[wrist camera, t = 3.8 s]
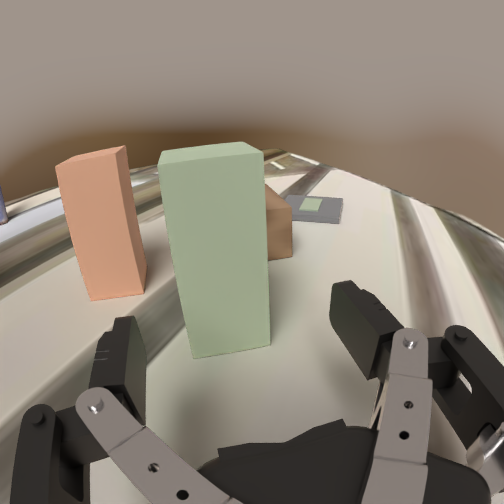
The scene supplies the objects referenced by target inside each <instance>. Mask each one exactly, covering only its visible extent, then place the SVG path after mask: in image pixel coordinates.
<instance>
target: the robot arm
mask: <svg viewBox="0 0 504 504" xmlns="http://www.w3.org/2000/svg"><path fill="white" fill-rule="evenodd" d="M329 316H330V322H331V325H332V327H333V329H334V330H335V332H336V333H337V335H338V336H339V338H340V339H341V341H342V342H343V344H344V345H345V347H346V348H347V350H348V351H349V353H350V354H351V356H352V357H353V359H354V360H355V362H356V363H357V365H358V367H359V368H360V370H361V371H362V373H363V374H364V376H365V377H366V379H367V380H370V379H373V378H376V377H378V378H379V380H380V382H379V385H378V389H377V394H376V399H375V403H374V408H373V412H372V416H371V420H370V424H369V427H368V428H367V427H360V426H346V425H345V423H344V421H343V419H340V420H337V421H334V422H330V423H327V424H324V425H321V426H317V427H314V428H312V429H310V430H308V431H306V432H304V433H303V434H301V435H299V436H297V437H295V438H293V439H291V440H289V441H287V442H284V443H247V444H242V445H236V446H231V447H225V448H219V449H218V454H219V457H218V458H215V459H213V460H211V461H209V462H207V463H205V464H204V465H202V466H201V467H200V468H198V469H197V470H195V469H193V468H192V467H191V466H190V465H189V464H188V463H186V462H185V461H184V460H183V459H182V458H181V457H179V456H178V455H177V454H176V453H175V452H174V451H173V450H172V449H170V448H169V447H168V446H167V445H166V444H165V443H164V442H163V441H162V440H161V439H160V438H159V437H158V436H157V435H155V434H154V433H153V432H152V431H151V430H150V429H149V428H148V427H146V426H144V425H146V415H145V411H146V362H147V358H146V350H145V346H144V343H143V340H142V337H141V334H140V331H139V328H138V325H137V322H136V319H135V317H134V316H127V317H119V318H115V321H114V326H113V331H109V332H105V333H104V334H103V335H102V337H101V338H100V339H99V341H98V345H97V349H96V354H95V358H94V359H95V361H94V363H93V368H92V373H91V378H90V383H89V389H88V390H86V391H85V392H83V393H82V394H81V395H80V396H79V397H78V399H77V401H76V405H75V406H73V407H70V408H67V409H64V410H61V411H57V412H54V410H53V409H52V408H51V407H50V406H48V405H45V404H38V405H35V406H33V407H31V408H30V409H28V410H27V411H26V413H25V414H24V416H23V419H22V423H21V428H20V433H19V438H18V443H17V449H16V455H15V462H14V469H13V477H12V485H11V496H10V504H90V463H92V462H95V461H98V460H101V459H104V458H107V457H111V459H112V460H113V461H114V462H115V464H116V465H117V466H118V467H119V468H120V469H121V471H122V472H123V473H124V474H125V475H126V476H127V477H128V479H129V480H130V481H131V482H132V483H133V484H134V485H135V486H136V487H137V488H138V490H139V491H140V492H141V493H142V494H143V495H144V496H145V497H146V498H147V499H148V500H149V501H150V502H151V503H152V504H491V497H492V496H494V495H495V494H497V493H501V492H504V366H503V365H502V364H501V363H500V362H499V361H498V360H497V358H496V357H495V356H494V355H493V354H492V353H491V352H490V351H489V350H488V348H487V347H486V346H485V345H484V344H483V343H482V342H481V341H480V340H479V339H478V338H477V337H476V335H475V334H474V333H473V332H472V331H471V330H469V329H468V328H466V327H464V326H460V325H453V326H450V327H448V328H447V329H446V331H445V333H444V336H443V337H434V338H427V337H426V336H425V335H424V334H423V333H422V332H420V331H418V330H416V329H412V328H404V327H403V326H402V325H401V324H400V322H399V321H398V320H397V319H396V318H395V317H394V316H393V315H392V314H391V313H390V311H389V310H388V309H386V307H385V306H384V305H383V304H382V303H381V302H380V301H379V300H378V299H377V297H376V296H375V295H374V294H372V293H370V292H368V291H366V290H364V289H362V290H360V289H359V288H358V287H357V285H356V284H355V283H354V282H353V281H351V280H348V281H343V282H338V283H334V284H333V286H332V292H331V302H330V312H329ZM461 373H462V374H463V376H464V377H465V378H466V379H467V381H468V382H469V383H470V385H471V388H472V394H471V392H470V391H469V390H468V388H467V387H466V386H465V384H464V383H463V382H462V381H461V379H460V378H459V376H460V374H461ZM432 397H433V398H434V400H435V401H436V403H437V404H438V406H439V407H440V409H441V410H442V412H443V414H444V415H445V417H446V418H447V420H448V421H449V423H450V424H451V426H452V427H453V429H454V430H455V432H456V434H457V435H458V437H459V438H460V440H461V442H462V443H463V445H464V446H465V448H466V450H467V453H466V460H467V464H466V466H464V465H462V464H459V463H456V462H453V461H450V460H448V459H445V458H442V457H440V456H437V455H435V454H432V453H429V452H427V448H428V440H429V430H430V419H431V405H432ZM143 426H144V427H143Z"/></svg>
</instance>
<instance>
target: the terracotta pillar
mask: <svg viewBox="0 0 504 504" xmlns="http://www.w3.org/2000/svg"><path fill="white" fill-rule="evenodd" d="M55 168H56V174H57V179H58V184H59V189H60V193H61V198H62V203H63V207H64V211H65V215H66V220H67V224H68V227H69V231H70V235H71V239H72V242H73V246H74V249H75V253H76V256H77V260H78V263H79V266H80V270H81V273H82V276H83V279H84V282H85V285H86V288H87V291H88V294H89V297H90V300H91V301H95V300H103V299H110V298H117V297H125V296H132V295H139V294H144V287H145V280H146V272H147V264H146V259H145V254H144V250H143V245H142V240H141V235H140V230H139V225H138V220H137V215H136V209H135V204H134V198H133V192H132V186H131V180H130V173H129V167H128V160H127V152H126V146H120V147H115V148H110V149H105V150H100V151H95V152H91V153H86V154H82V155H77V156H74V157H72V158H70V159H68V160H66V161H64V162H63V163H60V164H59V165H57V166H55Z"/></svg>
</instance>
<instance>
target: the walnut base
mask: <svg viewBox="0 0 504 504" xmlns="http://www.w3.org/2000/svg"><path fill="white" fill-rule="evenodd" d="M265 203H266V226H267V252H268V260H274V259H281V258H287V257H292V207H291V206H290V205H289V204H288V203H287V202H286V201H284V200H283V199H282V198H281V197H280V196H279V195H278V194H277V193H276V192H274V191H273V190H272V189H271V188H270V187H269V186H268V185H267V184H265Z"/></svg>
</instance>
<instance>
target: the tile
mask: <svg viewBox="0 0 504 504" xmlns="http://www.w3.org/2000/svg"><path fill="white" fill-rule="evenodd" d="M284 201H286V202H287V203H288V204H289V205H290V206H291V207H292V220H297V221H310V222H322V223H334V224H339V221H340V216H341V210H342V205H343V198H330V197H316V196H299V195H288V196H287V197H286V199H285V200H284Z"/></svg>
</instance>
